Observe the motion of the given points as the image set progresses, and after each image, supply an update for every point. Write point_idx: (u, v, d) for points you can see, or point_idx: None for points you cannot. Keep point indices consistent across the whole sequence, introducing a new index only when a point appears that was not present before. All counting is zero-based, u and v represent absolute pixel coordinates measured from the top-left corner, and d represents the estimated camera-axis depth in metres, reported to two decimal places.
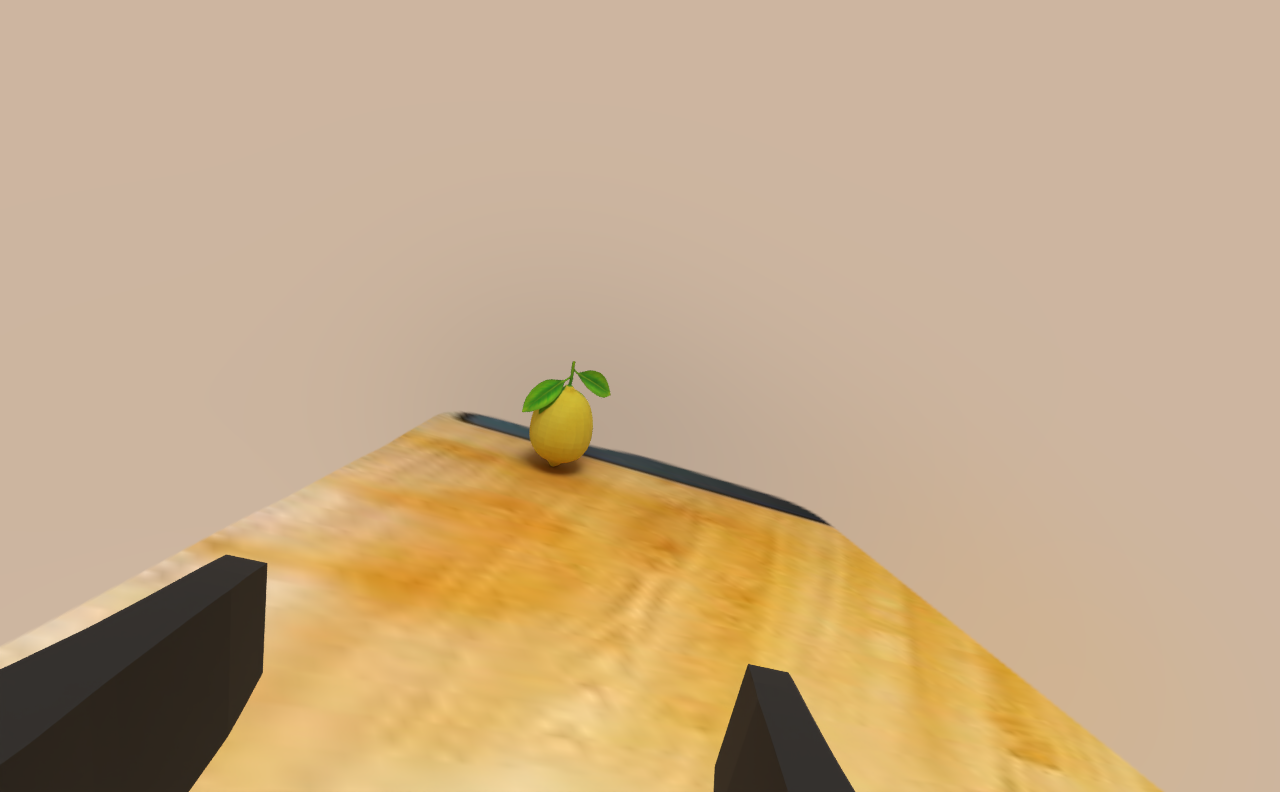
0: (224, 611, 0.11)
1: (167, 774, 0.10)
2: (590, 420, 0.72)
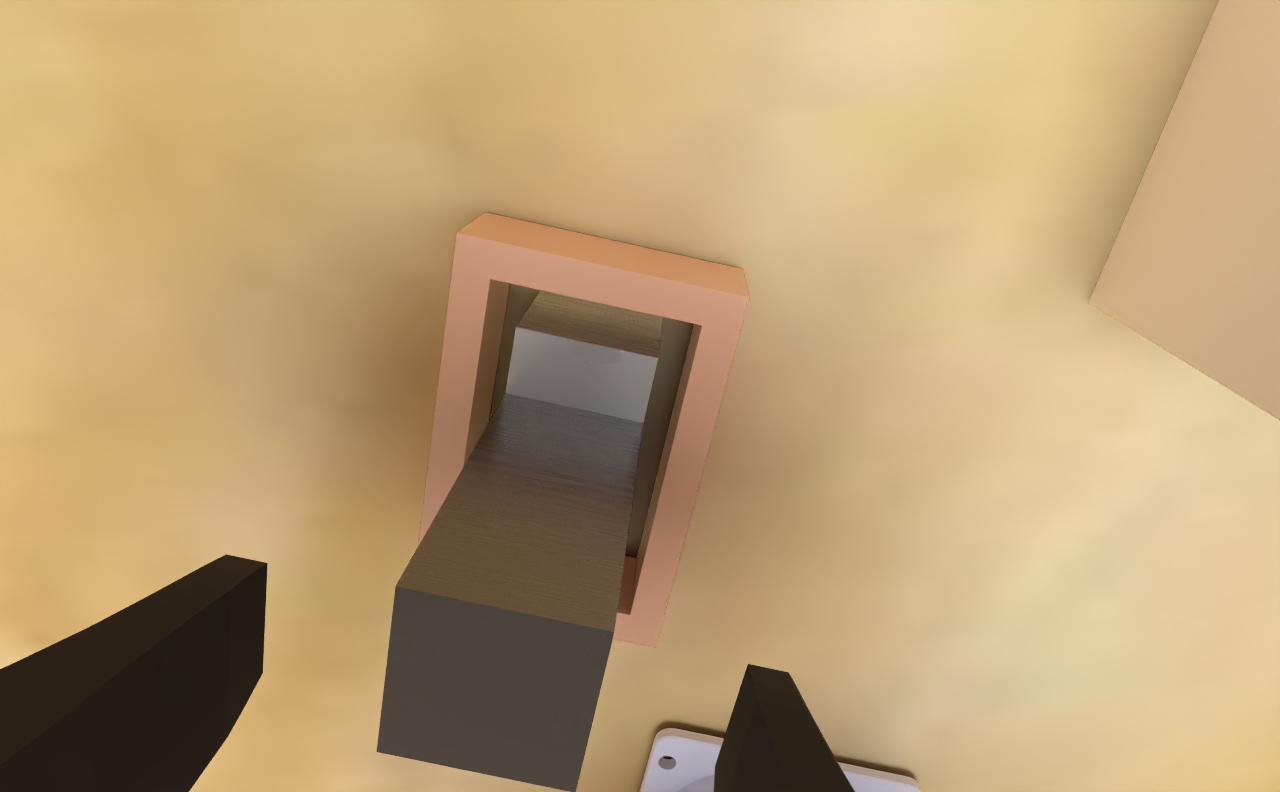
0: (223, 611, 0.11)
1: (167, 774, 0.10)
2: None
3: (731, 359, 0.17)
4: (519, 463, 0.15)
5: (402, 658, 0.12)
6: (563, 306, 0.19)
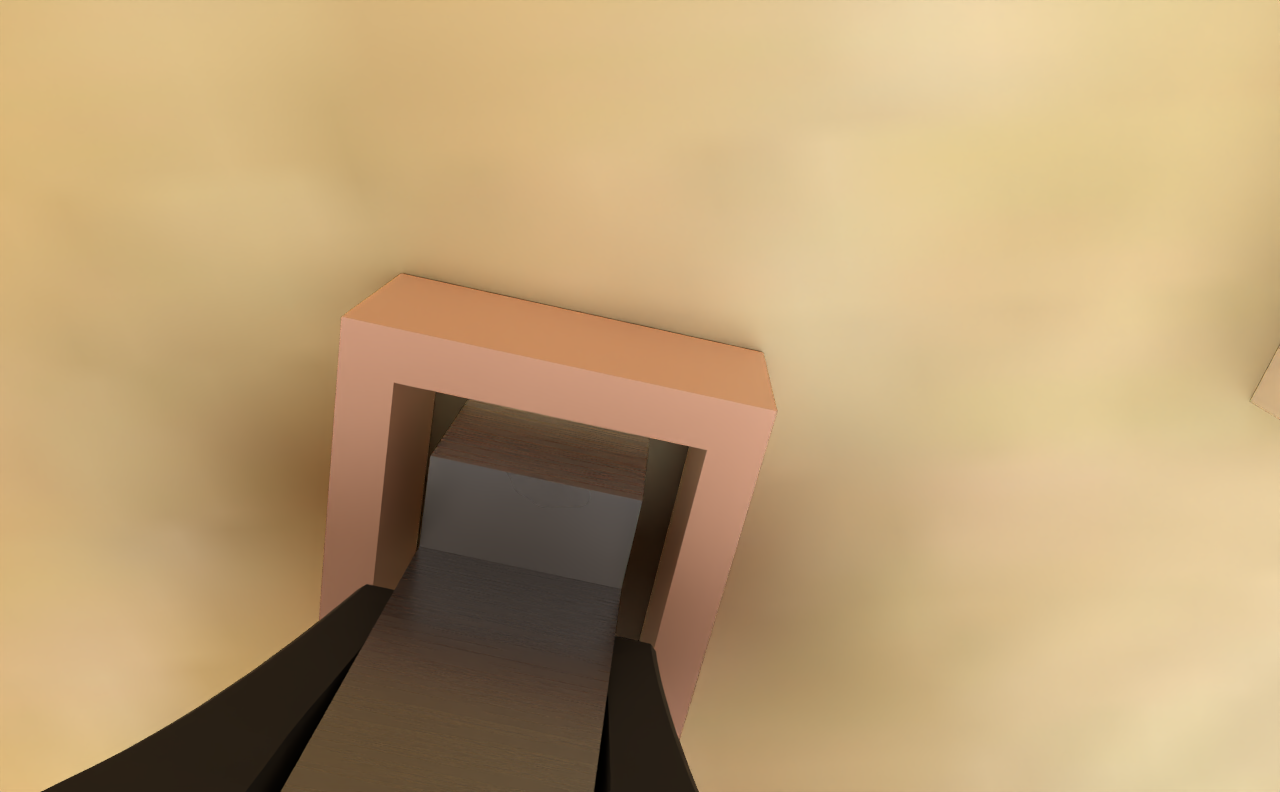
0: None
1: None
2: None
3: (749, 497, 0.12)
4: (417, 702, 0.09)
5: None
6: (510, 408, 0.13)
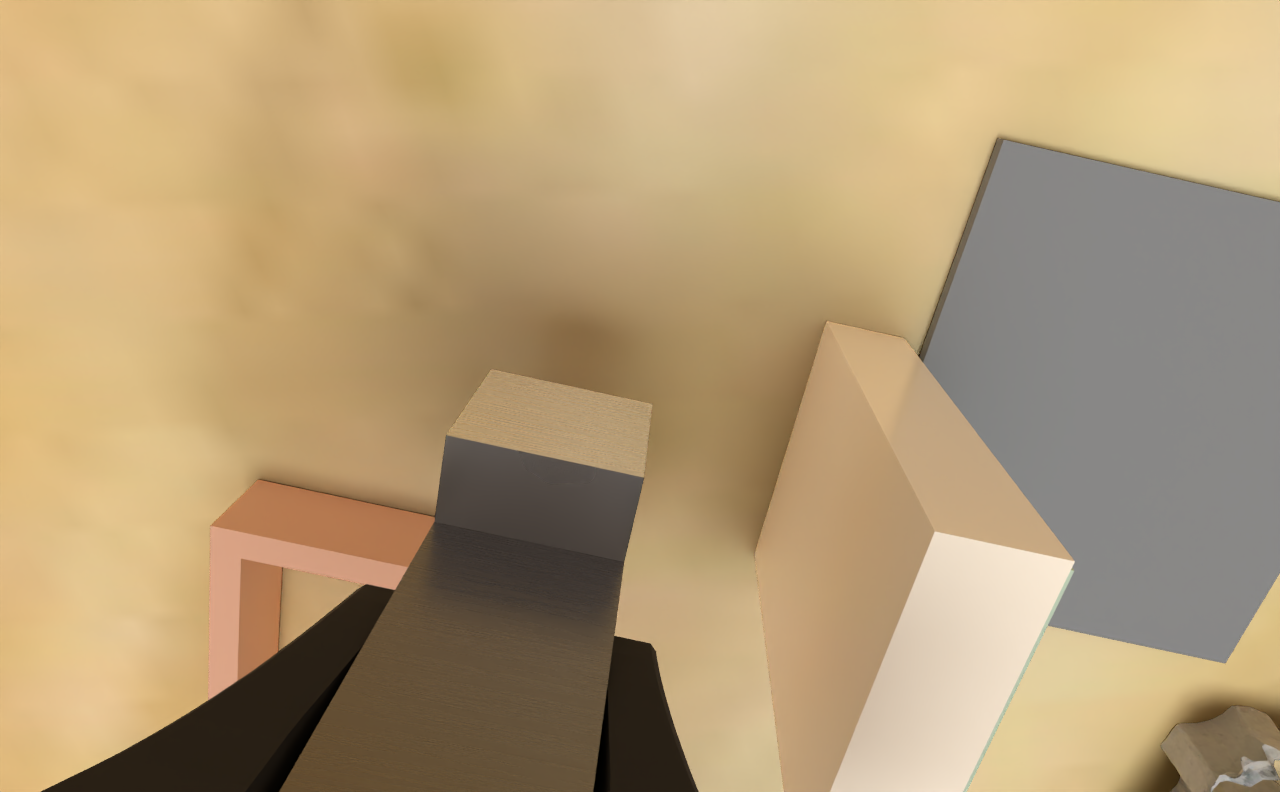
0: None
1: None
2: None
3: None
4: (436, 655, 0.10)
5: None
6: (518, 394, 0.14)
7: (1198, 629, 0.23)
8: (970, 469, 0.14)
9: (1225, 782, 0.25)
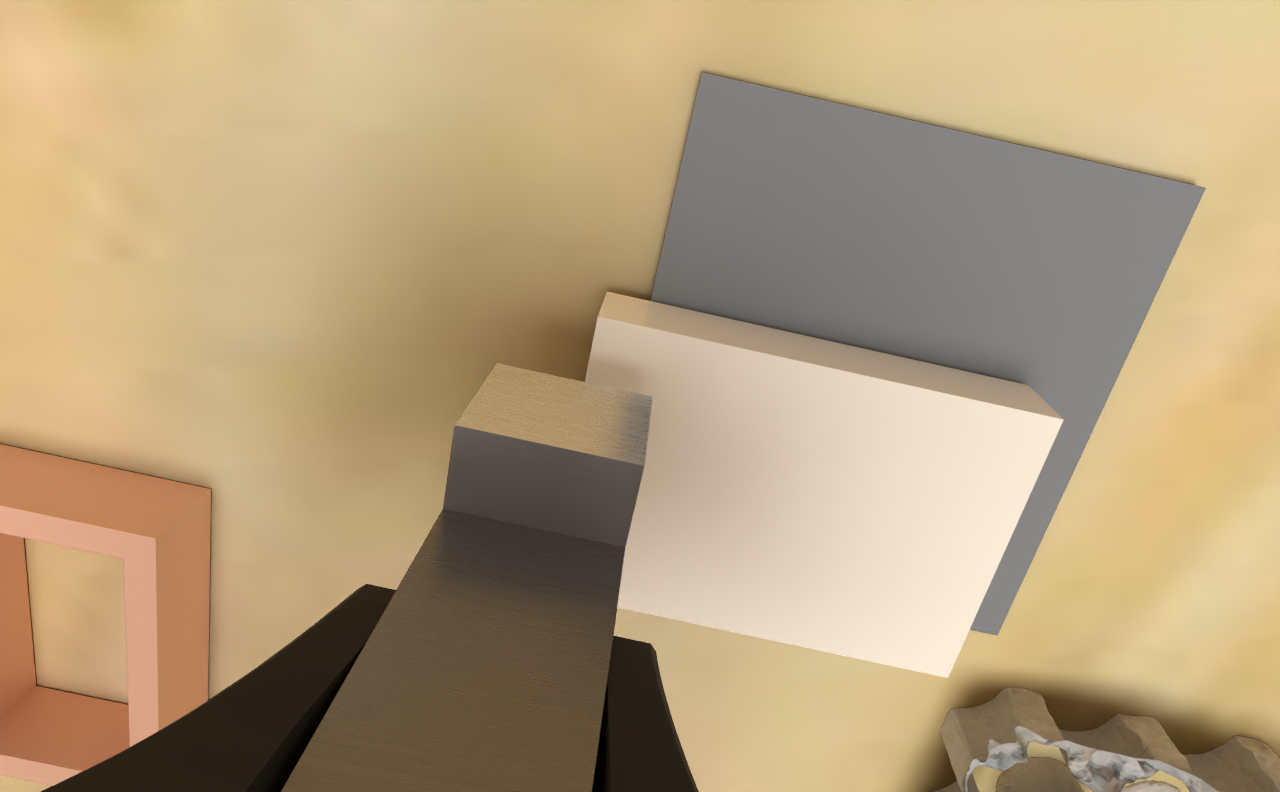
0: None
1: None
2: None
3: (154, 585, 0.21)
4: (447, 632, 0.11)
5: None
6: (523, 387, 0.15)
7: None
8: (933, 372, 0.19)
9: (1012, 767, 0.24)
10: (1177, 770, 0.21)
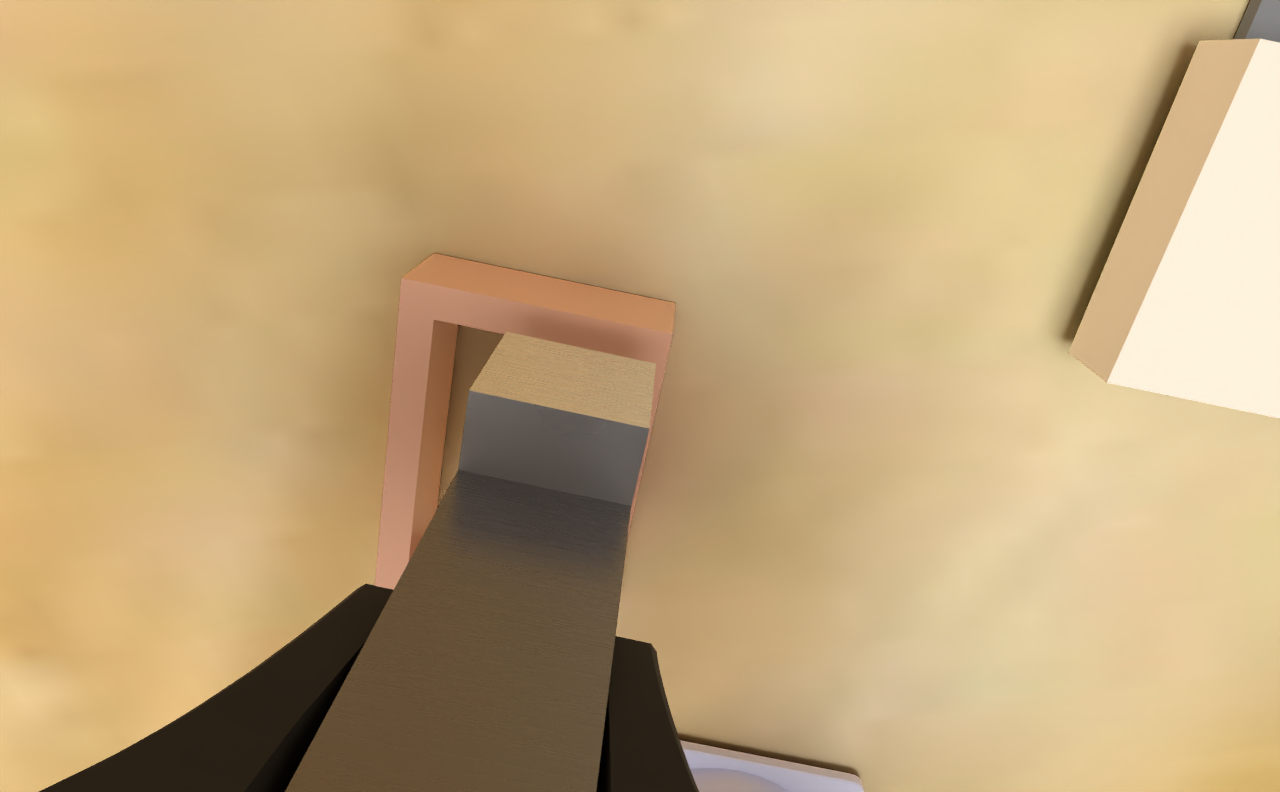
0: None
1: None
2: None
3: (659, 390, 0.19)
4: (467, 582, 0.11)
5: None
6: (532, 355, 0.15)
7: None
8: None
9: None
10: None
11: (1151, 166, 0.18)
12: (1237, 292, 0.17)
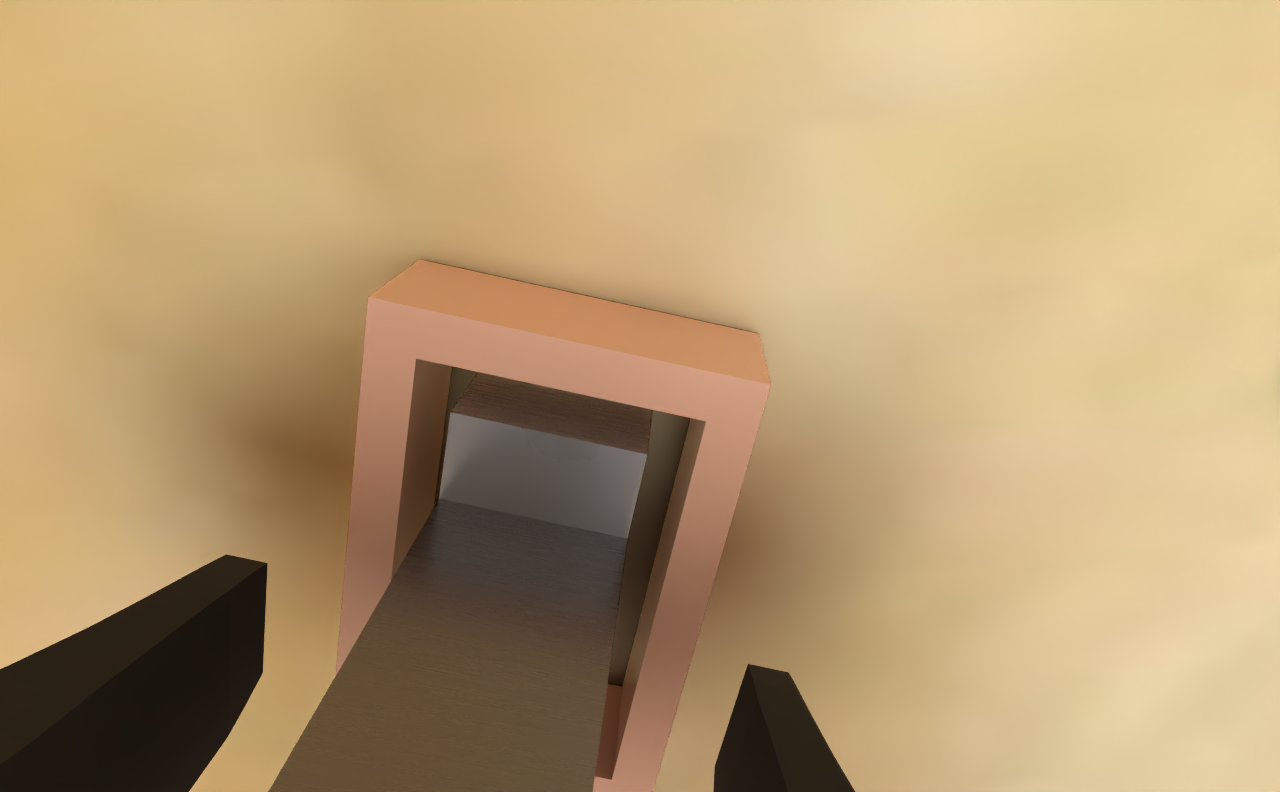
0: (223, 612, 0.11)
1: (167, 774, 0.10)
2: None
3: (745, 466, 0.13)
4: (442, 628, 0.10)
5: None
6: None
7: None
8: None
9: None
10: None
11: None
12: None
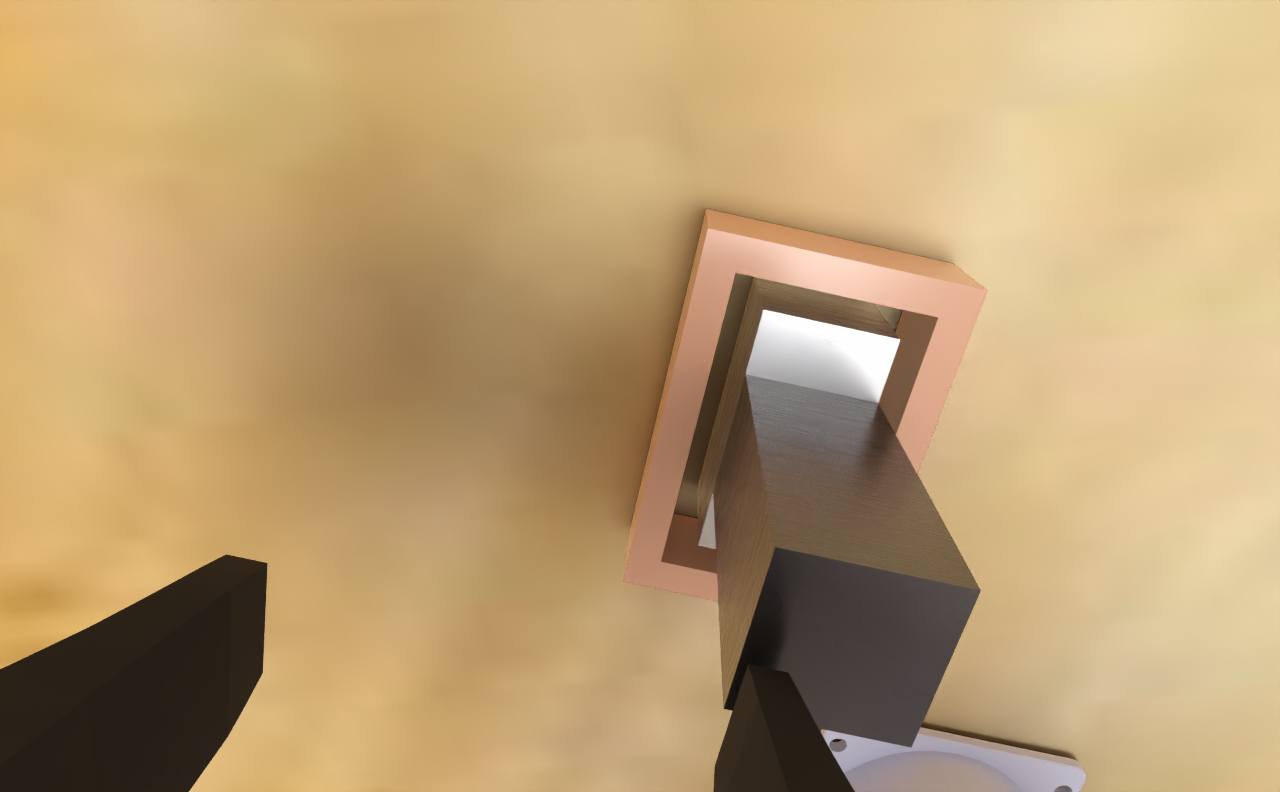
0: (223, 611, 0.11)
1: (167, 774, 0.10)
2: None
3: (963, 350, 0.18)
4: (801, 438, 0.16)
5: (766, 617, 0.12)
6: (784, 291, 0.20)
7: None
8: None
9: None
10: None
11: None
12: None
